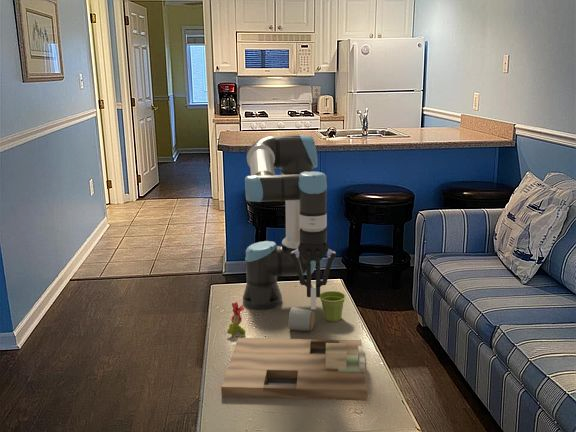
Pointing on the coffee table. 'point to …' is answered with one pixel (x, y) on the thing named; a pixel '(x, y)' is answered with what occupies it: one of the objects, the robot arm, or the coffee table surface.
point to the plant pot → (332, 305)
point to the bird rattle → (236, 320)
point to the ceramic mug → (301, 319)
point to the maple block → (336, 355)
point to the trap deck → (293, 370)
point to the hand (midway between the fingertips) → (313, 307)
